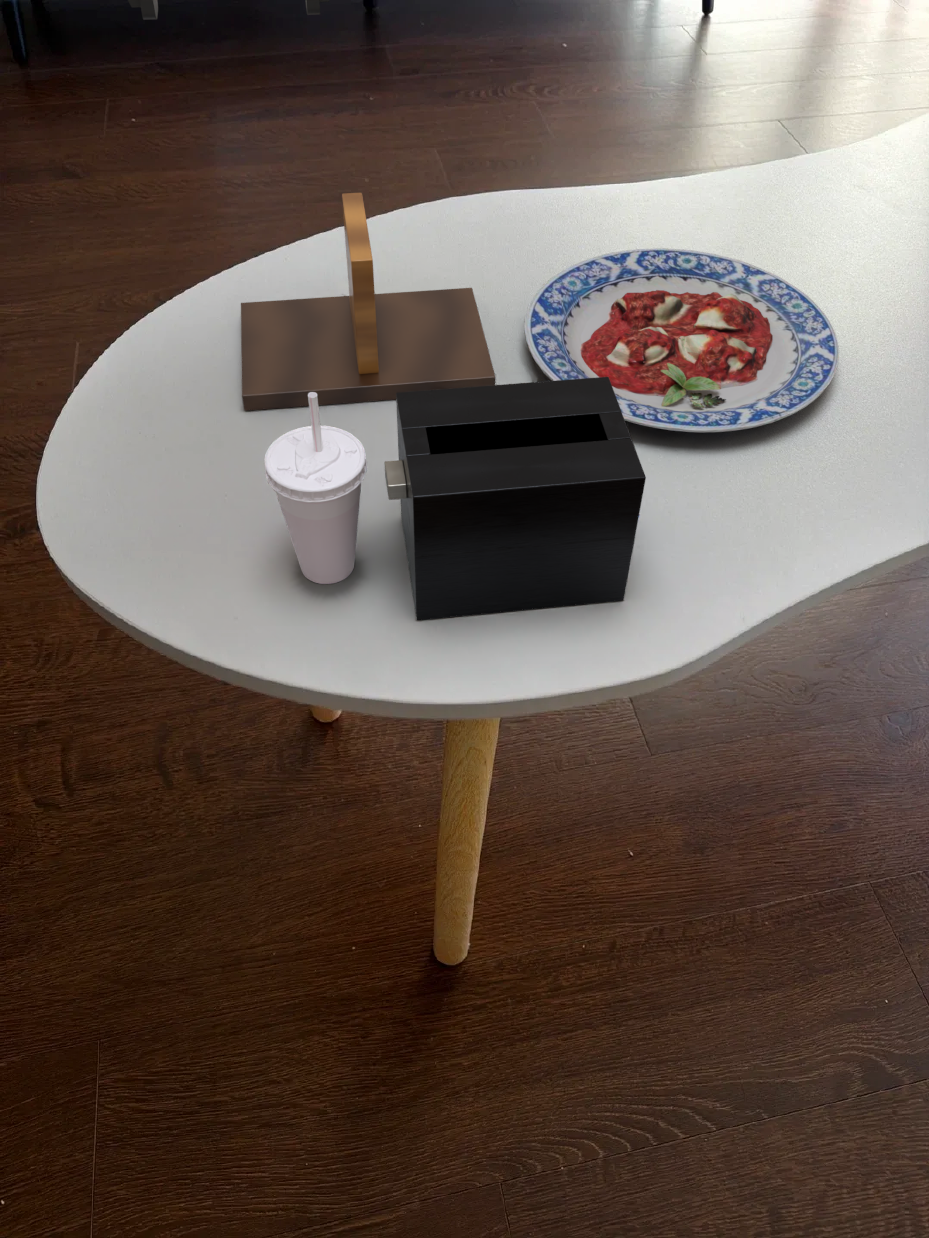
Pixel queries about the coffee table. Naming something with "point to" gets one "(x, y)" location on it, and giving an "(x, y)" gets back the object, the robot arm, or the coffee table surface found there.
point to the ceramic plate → (684, 338)
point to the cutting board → (326, 355)
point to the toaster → (515, 496)
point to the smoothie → (319, 494)
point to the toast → (360, 282)
